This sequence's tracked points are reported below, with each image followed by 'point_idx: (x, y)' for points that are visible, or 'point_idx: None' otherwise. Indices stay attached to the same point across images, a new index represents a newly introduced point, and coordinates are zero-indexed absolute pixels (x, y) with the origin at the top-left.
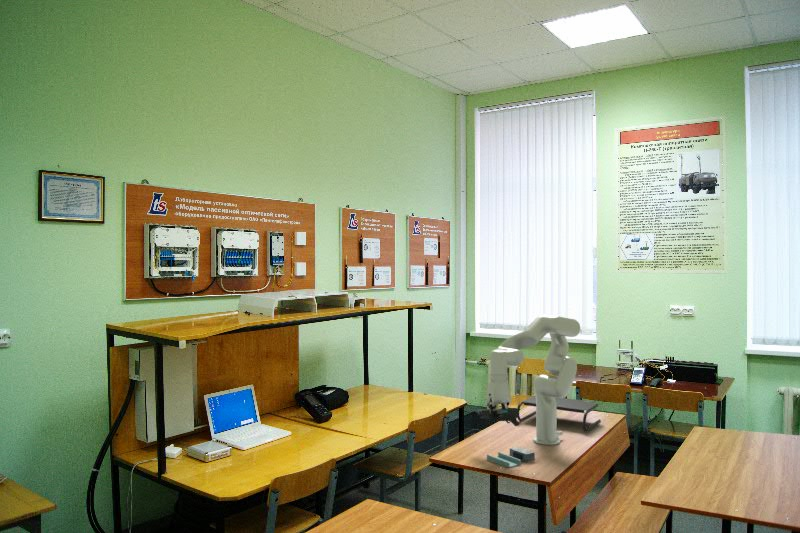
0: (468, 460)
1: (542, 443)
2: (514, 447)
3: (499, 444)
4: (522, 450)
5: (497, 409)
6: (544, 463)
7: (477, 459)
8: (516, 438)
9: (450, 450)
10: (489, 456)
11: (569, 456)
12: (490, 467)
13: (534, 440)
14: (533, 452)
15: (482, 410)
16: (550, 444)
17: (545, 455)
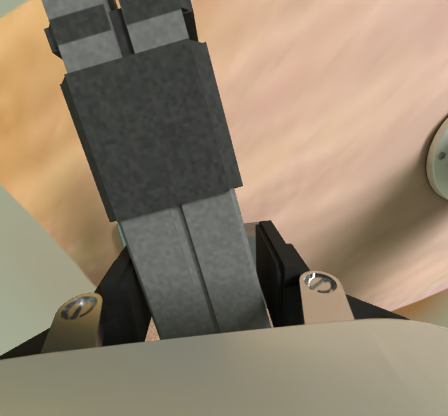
0: (49, 193)
1: (430, 178)
2: (248, 238)
3: (293, 75)
4: None
5: (210, 288)
6: (269, 314)
7: (90, 199)
8: (432, 33)
9: (14, 24)
10: (121, 237)
11: (378, 301)
12: (96, 280)
13: (441, 134)
14: (265, 306)
15: (68, 96)
16: (443, 197)
17: (330, 267)
